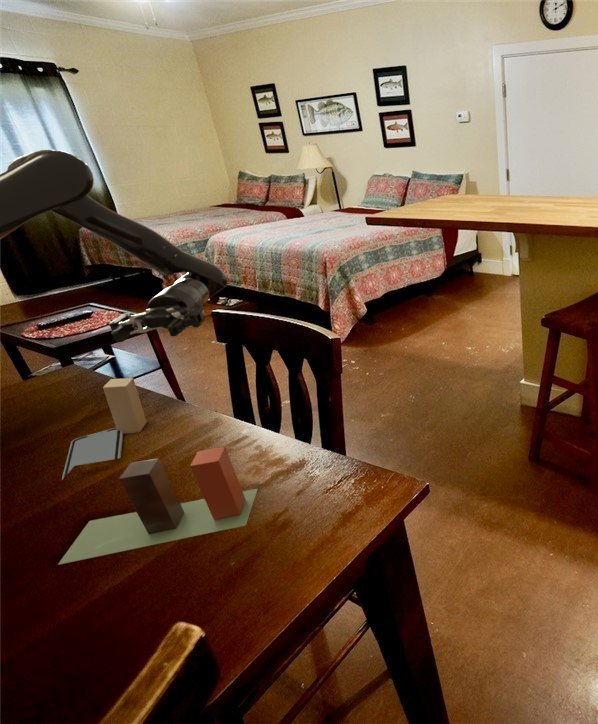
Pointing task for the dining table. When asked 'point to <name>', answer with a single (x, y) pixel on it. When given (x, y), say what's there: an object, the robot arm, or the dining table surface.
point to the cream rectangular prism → (125, 405)
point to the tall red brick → (218, 483)
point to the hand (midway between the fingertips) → (144, 334)
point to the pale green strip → (132, 533)
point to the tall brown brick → (152, 495)
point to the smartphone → (94, 448)
